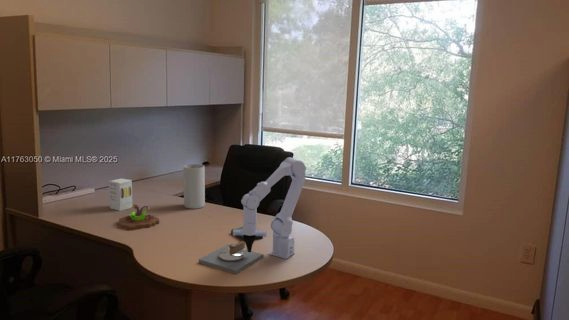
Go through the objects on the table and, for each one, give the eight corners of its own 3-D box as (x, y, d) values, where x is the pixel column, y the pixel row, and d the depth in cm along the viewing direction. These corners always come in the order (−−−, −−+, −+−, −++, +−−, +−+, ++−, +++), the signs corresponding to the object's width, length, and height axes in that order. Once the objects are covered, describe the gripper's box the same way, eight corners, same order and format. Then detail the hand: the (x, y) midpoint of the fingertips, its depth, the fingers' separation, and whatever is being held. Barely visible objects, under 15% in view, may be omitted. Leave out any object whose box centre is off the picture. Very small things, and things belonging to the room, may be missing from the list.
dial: (234, 263, 184) (234, 252, 183) (213, 257, 189) (213, 246, 188) (253, 252, 196) (253, 242, 195) (233, 247, 201) (233, 237, 200)
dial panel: (263, 257, 195) (263, 254, 195) (236, 274, 178) (236, 270, 178) (227, 247, 205) (227, 244, 205) (198, 262, 188) (198, 258, 188)
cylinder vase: (207, 204, 273) (207, 164, 269) (200, 209, 261) (200, 168, 257) (188, 202, 275) (188, 163, 271) (180, 208, 263) (179, 167, 259)
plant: (112, 223, 235) (111, 203, 233) (146, 215, 249) (145, 196, 247) (129, 233, 221) (128, 211, 219) (164, 224, 235) (163, 204, 233)
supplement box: (120, 211, 255) (118, 183, 251) (109, 208, 259) (108, 180, 256) (133, 207, 263) (132, 179, 260) (122, 204, 267) (121, 177, 264)
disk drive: (263, 239, 218) (247, 230, 230) (263, 234, 218) (248, 225, 230) (245, 243, 212) (230, 234, 224) (245, 238, 212) (230, 228, 224)
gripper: (267, 219, 193) (266, 248, 196) (234, 218, 194) (234, 247, 196) (266, 224, 186) (265, 254, 189) (232, 223, 187) (232, 253, 189)
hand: (249, 251), depth 192 cm, fingers closed
